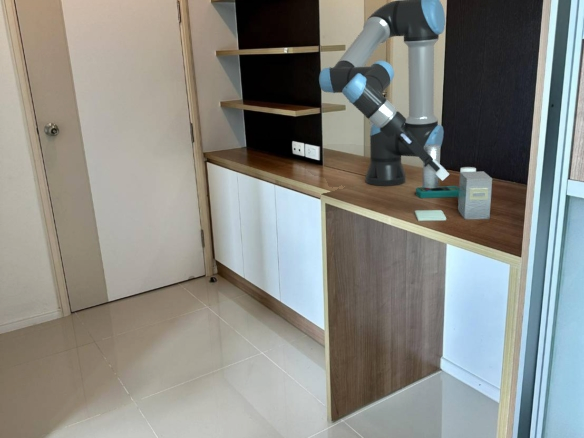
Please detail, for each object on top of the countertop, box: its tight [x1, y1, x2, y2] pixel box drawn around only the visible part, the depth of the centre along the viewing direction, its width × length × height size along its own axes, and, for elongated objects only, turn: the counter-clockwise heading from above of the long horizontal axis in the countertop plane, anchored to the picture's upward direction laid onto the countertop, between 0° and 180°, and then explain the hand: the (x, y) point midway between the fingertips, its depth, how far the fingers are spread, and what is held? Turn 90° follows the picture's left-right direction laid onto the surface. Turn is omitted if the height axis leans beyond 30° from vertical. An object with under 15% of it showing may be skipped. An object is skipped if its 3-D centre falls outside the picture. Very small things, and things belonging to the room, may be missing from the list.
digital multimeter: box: [415, 185, 459, 199], centre depth 185 cm, size 7×15×3 cm, turn 89°
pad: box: [414, 209, 447, 222], centre depth 161 cm, size 8×8×1 cm
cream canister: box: [459, 166, 477, 173], centre depth 169 cm, size 5×5×12 cm
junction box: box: [457, 170, 493, 220], centre depth 160 cm, size 11×7×12 cm, turn 174°
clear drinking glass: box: [421, 145, 441, 188], centre depth 156 cm, size 5×5×12 cm
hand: (444, 175), depth 157 cm, fingers closed on clear drinking glass, 5 cm apart
